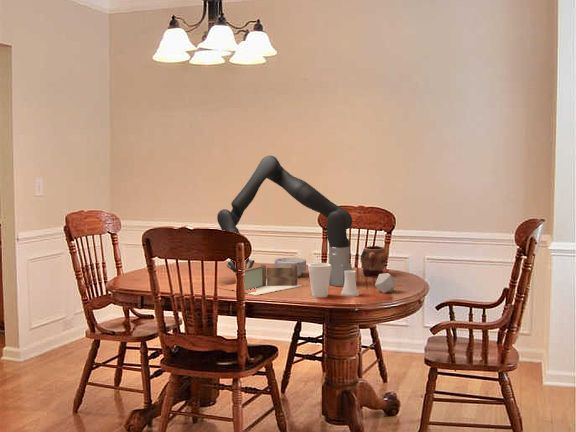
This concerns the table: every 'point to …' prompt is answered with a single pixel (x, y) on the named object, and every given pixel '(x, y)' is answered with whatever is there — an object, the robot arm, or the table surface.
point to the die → (385, 283)
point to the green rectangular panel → (253, 277)
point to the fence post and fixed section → (280, 276)
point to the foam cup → (319, 278)
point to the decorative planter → (373, 261)
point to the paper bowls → (290, 261)
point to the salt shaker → (350, 284)
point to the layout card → (271, 289)
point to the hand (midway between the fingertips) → (245, 280)
